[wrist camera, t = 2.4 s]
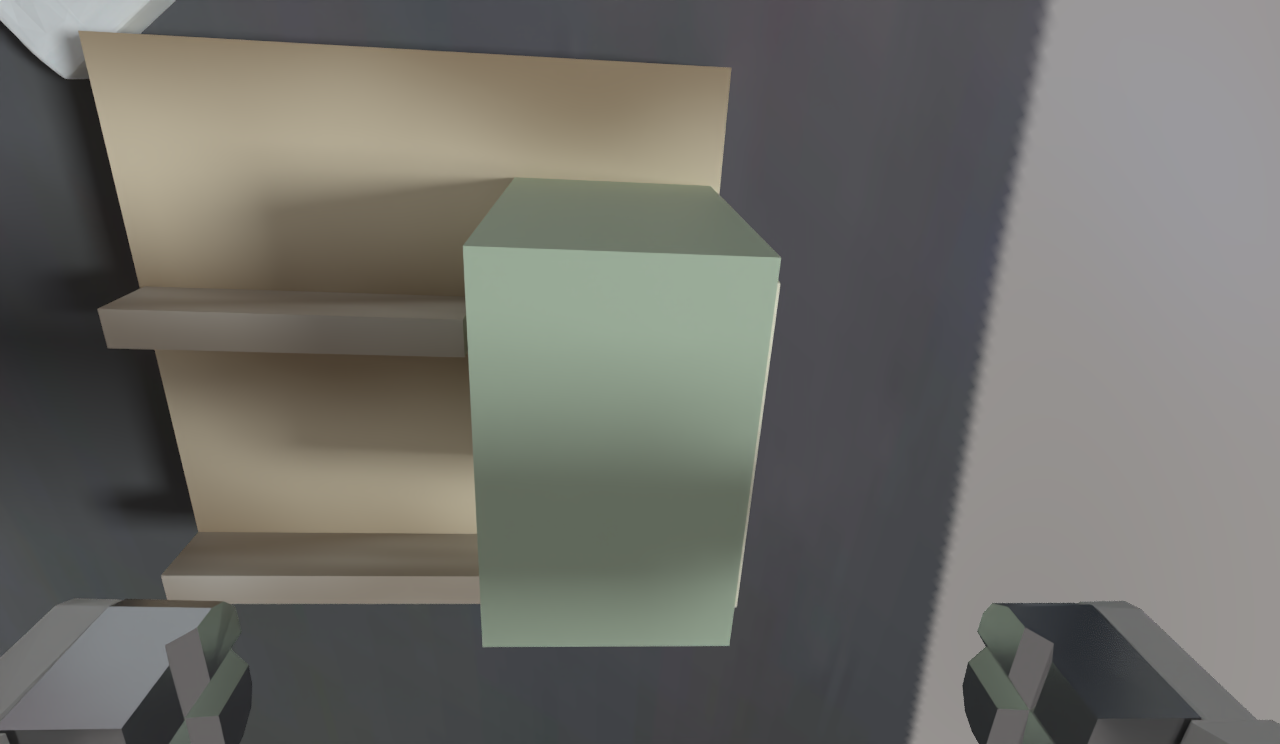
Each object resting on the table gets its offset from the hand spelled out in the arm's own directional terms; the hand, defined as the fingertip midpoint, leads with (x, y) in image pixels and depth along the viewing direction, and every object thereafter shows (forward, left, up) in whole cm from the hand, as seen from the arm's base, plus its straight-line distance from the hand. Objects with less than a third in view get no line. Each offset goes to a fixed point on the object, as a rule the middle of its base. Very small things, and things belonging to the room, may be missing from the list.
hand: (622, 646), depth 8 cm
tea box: (-1, 0, -9) cm, 9 cm away
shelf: (-1, -4, -11) cm, 12 cm away
